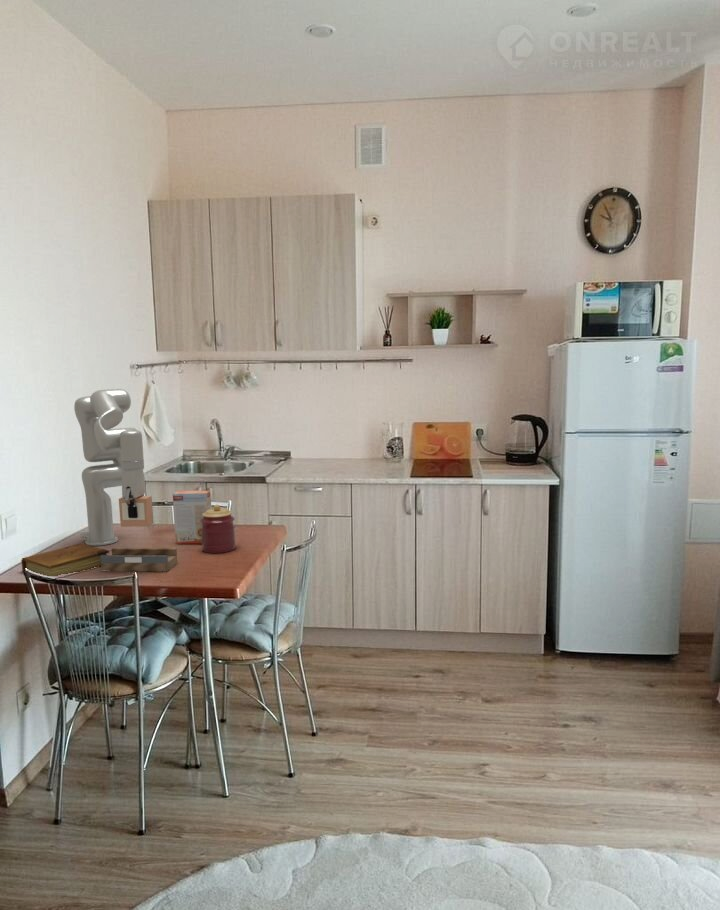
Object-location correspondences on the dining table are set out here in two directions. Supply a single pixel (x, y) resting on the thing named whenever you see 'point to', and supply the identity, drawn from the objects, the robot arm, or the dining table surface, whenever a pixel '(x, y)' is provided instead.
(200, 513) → the cracker box
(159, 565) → the wooden storage tray
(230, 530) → the canister
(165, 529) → the dining table surface
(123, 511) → the carton
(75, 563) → the diary
